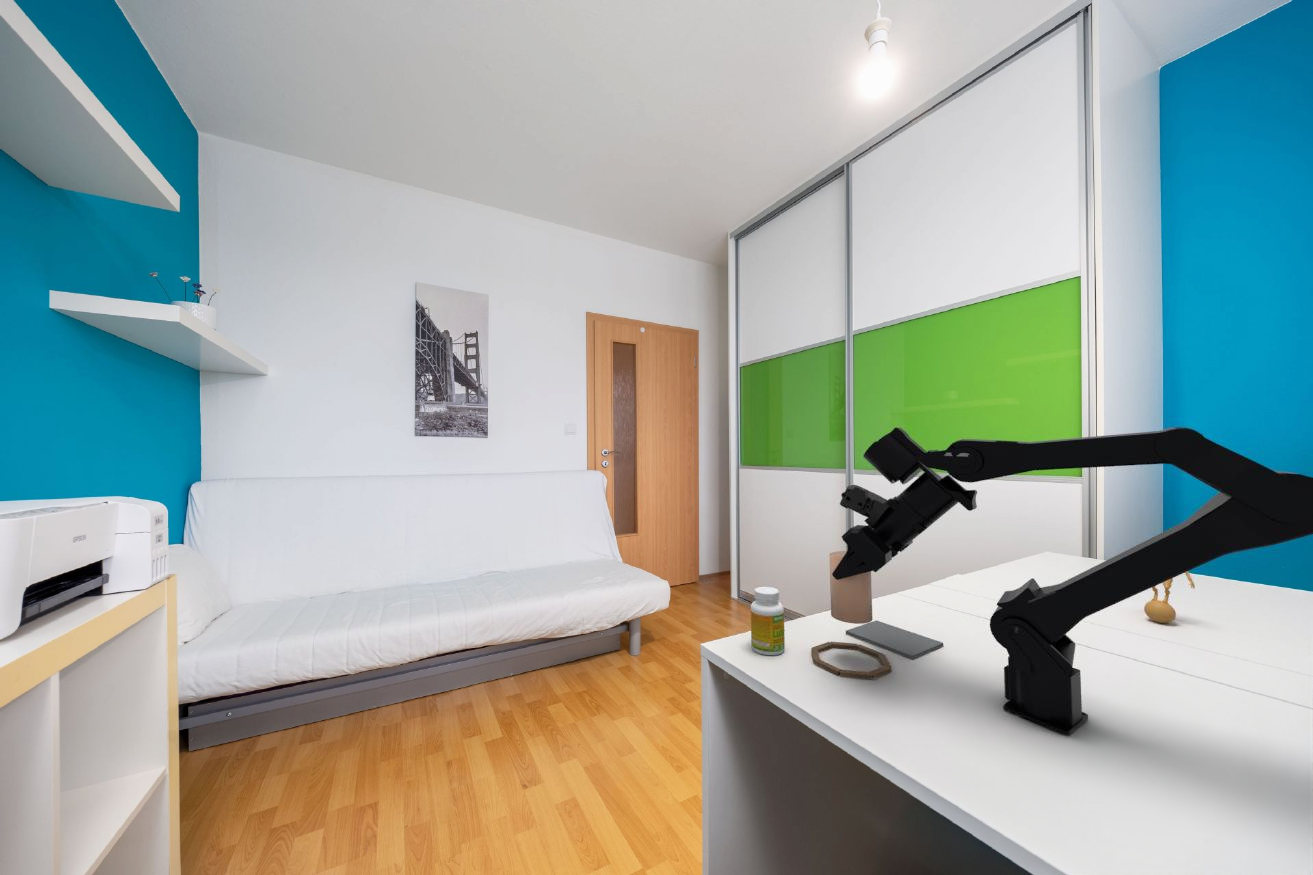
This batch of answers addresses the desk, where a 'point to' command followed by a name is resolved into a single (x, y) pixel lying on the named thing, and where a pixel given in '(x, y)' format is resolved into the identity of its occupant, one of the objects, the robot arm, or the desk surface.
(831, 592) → the peach cylinder
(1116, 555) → the robot arm
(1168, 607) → the figurine
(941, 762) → the desk surface
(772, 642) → the supplement bottle
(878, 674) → the coaster ring
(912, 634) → the rubber mat
